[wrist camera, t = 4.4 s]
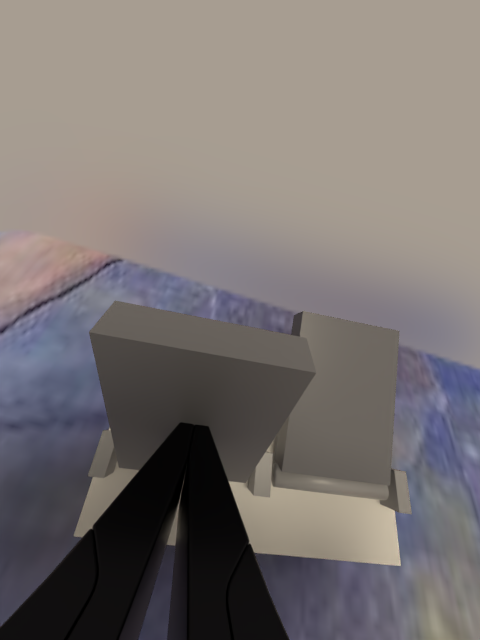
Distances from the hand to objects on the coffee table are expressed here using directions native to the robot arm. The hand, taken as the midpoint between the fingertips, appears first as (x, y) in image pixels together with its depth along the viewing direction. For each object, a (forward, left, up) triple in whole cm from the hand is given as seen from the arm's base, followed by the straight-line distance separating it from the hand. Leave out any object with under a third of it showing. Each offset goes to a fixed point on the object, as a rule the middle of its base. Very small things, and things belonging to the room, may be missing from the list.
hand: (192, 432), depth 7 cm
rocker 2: (-5, -4, -4) cm, 8 cm away
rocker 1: (-1, +1, -4) cm, 4 cm away
